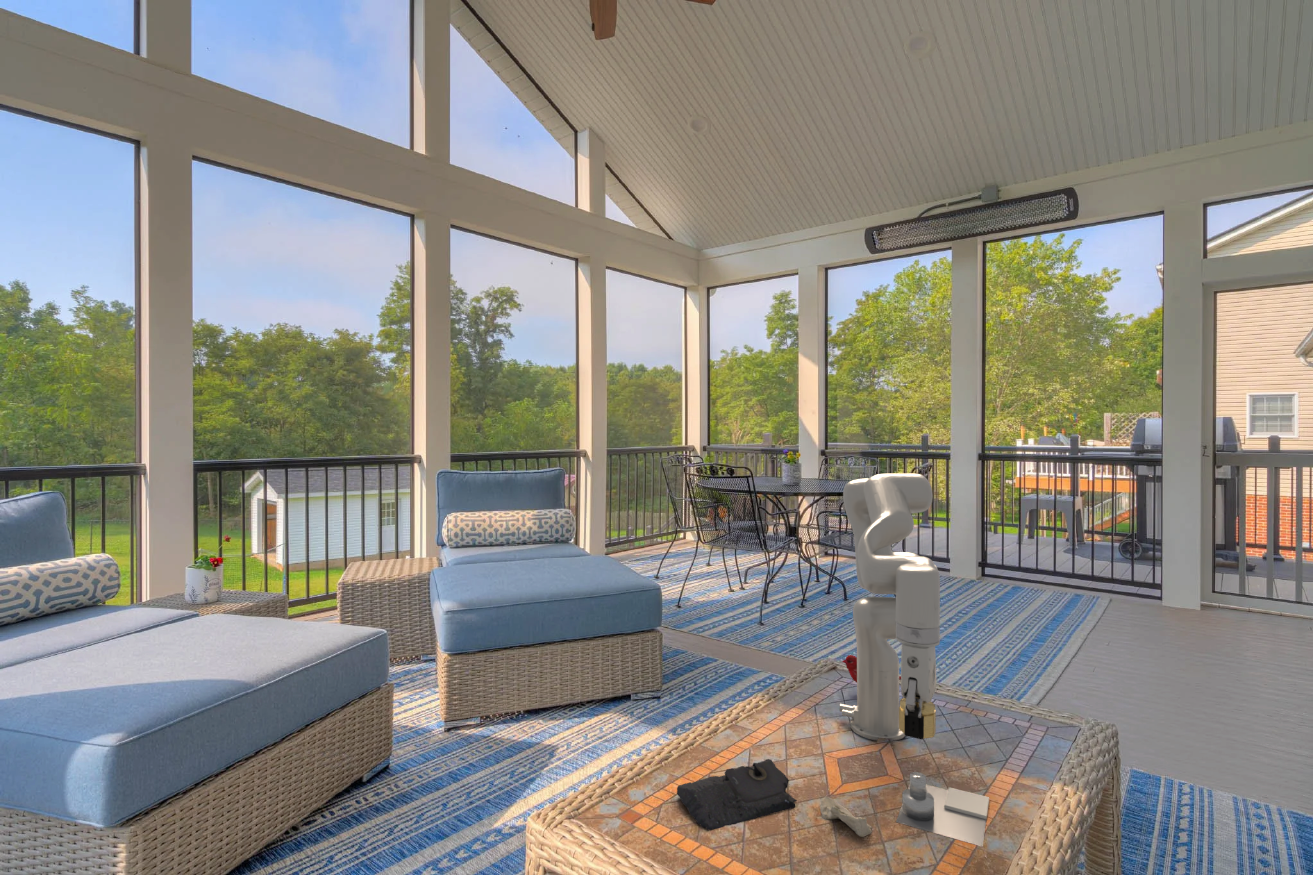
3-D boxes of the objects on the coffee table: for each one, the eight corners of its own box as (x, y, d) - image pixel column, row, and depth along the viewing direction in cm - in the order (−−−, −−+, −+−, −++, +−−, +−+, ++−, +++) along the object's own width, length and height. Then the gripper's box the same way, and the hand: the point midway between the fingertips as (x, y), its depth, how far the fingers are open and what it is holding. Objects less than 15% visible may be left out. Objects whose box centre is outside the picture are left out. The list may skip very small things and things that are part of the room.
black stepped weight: (667, 793, 129) (666, 769, 129) (760, 769, 138) (760, 747, 138) (703, 836, 115) (703, 810, 115) (805, 807, 124) (805, 782, 124)
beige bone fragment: (830, 808, 123) (830, 784, 123) (879, 835, 115) (879, 810, 115) (811, 819, 120) (811, 794, 120) (859, 847, 112) (859, 821, 112)
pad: (944, 807, 121) (944, 804, 121) (948, 790, 127) (949, 787, 127) (986, 819, 118) (986, 815, 118) (989, 800, 124) (989, 797, 124)
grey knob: (899, 815, 119) (899, 778, 119) (905, 801, 123) (905, 765, 123) (931, 824, 116) (931, 786, 116) (935, 809, 121) (935, 772, 121)
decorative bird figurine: (842, 688, 181) (842, 652, 181) (910, 698, 174) (910, 660, 174) (841, 691, 178) (841, 655, 178) (910, 702, 171) (910, 664, 171)
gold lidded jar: (932, 741, 116) (932, 709, 116) (897, 733, 119) (897, 701, 119) (937, 727, 121) (937, 696, 121) (903, 720, 124) (903, 690, 124)
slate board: (895, 827, 117) (895, 821, 117) (911, 785, 131) (911, 780, 131) (982, 852, 110) (982, 846, 110) (989, 805, 124) (989, 800, 124)
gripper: (932, 650, 110) (932, 755, 111) (945, 622, 125) (945, 715, 126) (886, 643, 114) (886, 744, 115) (904, 617, 129) (904, 706, 129)
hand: (917, 728), depth 120 cm, fingers closed on gold lidded jar, 6 cm apart
